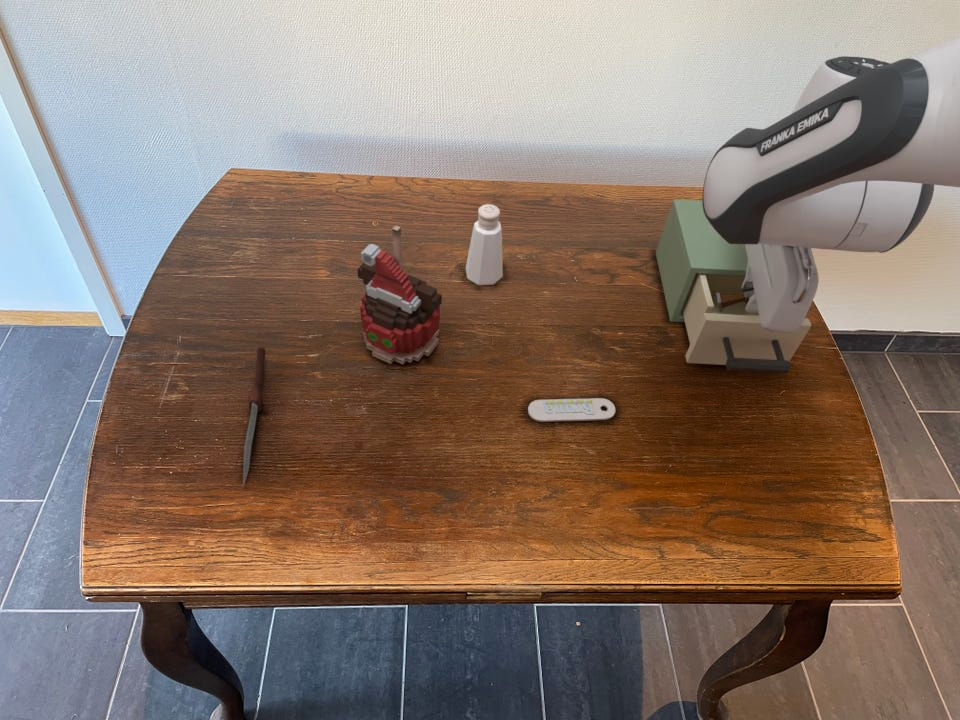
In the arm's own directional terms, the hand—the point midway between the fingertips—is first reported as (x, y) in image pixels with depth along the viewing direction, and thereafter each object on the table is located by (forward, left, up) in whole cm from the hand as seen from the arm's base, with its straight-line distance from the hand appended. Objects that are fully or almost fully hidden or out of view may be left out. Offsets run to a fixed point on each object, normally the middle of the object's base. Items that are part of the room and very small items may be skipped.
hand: (749, 301), depth 84 cm
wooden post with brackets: (0, 0, -2) cm, 2 cm away
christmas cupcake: (-6, +42, -9) cm, 43 cm away
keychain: (-14, +20, -8) cm, 26 cm away
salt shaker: (+8, +33, -9) cm, 35 cm away
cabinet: (+11, +1, -8) cm, 14 cm away
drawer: (0, 0, -7) cm, 7 cm away
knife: (-21, +56, -9) cm, 60 cm away
